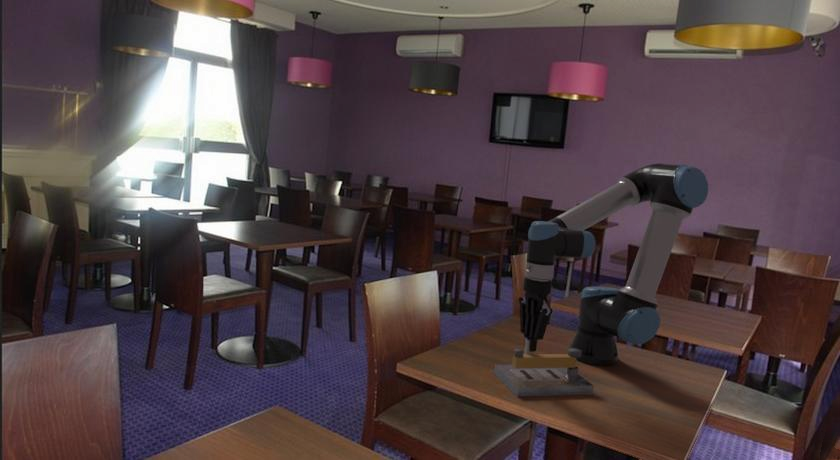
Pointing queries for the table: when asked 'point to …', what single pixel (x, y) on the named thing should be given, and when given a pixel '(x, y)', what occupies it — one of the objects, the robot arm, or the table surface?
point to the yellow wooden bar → (546, 359)
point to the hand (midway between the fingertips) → (528, 361)
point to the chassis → (543, 381)
